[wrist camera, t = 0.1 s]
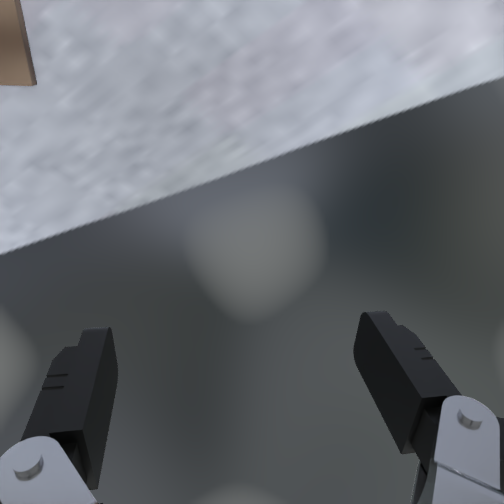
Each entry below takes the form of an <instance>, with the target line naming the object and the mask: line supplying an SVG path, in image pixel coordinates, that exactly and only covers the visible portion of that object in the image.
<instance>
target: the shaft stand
mask: <svg viewBox="0 0 504 504" xmlns="http://www.w3.org/2000/svg"><path fill="white" fill-rule="evenodd" d="M36 84H37V82H36V77H35V72H34V68H33V63H32V58H31V53H30V48H29V43H28V38H27V34H26V29H25V24H24V19H23V14H22V9H21V4H20V0H0V85H19V86H33V85H36Z"/></svg>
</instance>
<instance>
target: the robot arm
mask: <svg viewBox="0 0 504 504" xmlns="http://www.w3.org/2000/svg"><path fill="white" fill-rule="evenodd" d="M353 353H354V360H355V363H356V366H357V368H358V370H359V372H360V374H361V376H362V378H363V379H364V382H365V384H366V385H367V387H368V389H369V392H370V393H371V395H372V397H373V399H374V401H375V403H376V405H377V407H378V409H379V411H380V413H381V415H382V417H383V419H384V421H385V423H386V425H387V427H388V429H389V431H390V433H391V435H392V437H393V439H394V441H395V443H396V445H397V446H398V449H399V451H400V453H401V454H408V453H416V454H417V456H418V457H419V459H420V461H419V463H418V466H417V471H416V476H415V481H414V486H413V492H412V497H411V502H410V504H504V418H498V417H495V415H494V414H493V413H492V412H491V411H490V410H489V409H488V408H487V407H486V406H485V405H483V404H482V403H480V402H478V401H477V400H474V399H472V398H469V397H466V396H462V395H461V394H460V392H459V391H458V390H457V388H456V387H455V386H454V384H453V383H452V382H451V380H450V379H449V378H448V376H447V375H446V374H445V372H444V371H443V370H442V368H441V367H440V366H439V364H438V363H437V362H436V360H433V357H432V355H431V354H430V352H429V351H428V350H426V349H425V346H424V345H423V343H422V342H421V341H420V339H419V338H418V337H417V336H416V335H415V334H414V333H413V332H411V331H410V330H409V329H407V328H406V327H404V326H403V325H399V326H397V324H396V323H395V321H394V320H393V319H392V317H391V316H390V314H389V313H388V312H387V311H375V312H364V313H362V314H361V317H360V321H359V325H358V330H357V334H356V339H355V343H354V350H353ZM117 383H118V363H117V357H116V351H115V345H114V339H113V333H112V329H111V328H110V327H101V328H100V327H99V328H85V329H84V330H83V332H82V335H81V338H80V341H79V344H78V346H74V347H65V348H64V349H63V350H62V351H61V352H60V353H59V354H58V355H57V356H56V357H55V358H54V360H52V363H51V366H50V368H49V371H48V373H47V378H46V379H45V381H44V383H43V386H42V391H40V394H39V396H38V399H37V401H36V404H35V406H34V409H33V412H32V414H31V416H30V419H29V421H28V424H27V426H26V429H25V431H24V434H23V436H22V439H21V441H20V442H19V443H17V444H16V445H14V446H13V447H11V448H10V449H9V450H8V451H6V453H4V455H2V457H1V458H0V504H99V503H98V502H97V501H96V500H95V498H94V497H93V495H92V494H91V492H90V491H89V490H95V489H98V485H99V479H100V474H101V469H102V463H103V458H104V452H105V447H106V442H107V436H108V431H109V425H110V420H111V415H112V409H113V404H114V399H115V394H116V389H117ZM101 504H103V503H101Z"/></svg>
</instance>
